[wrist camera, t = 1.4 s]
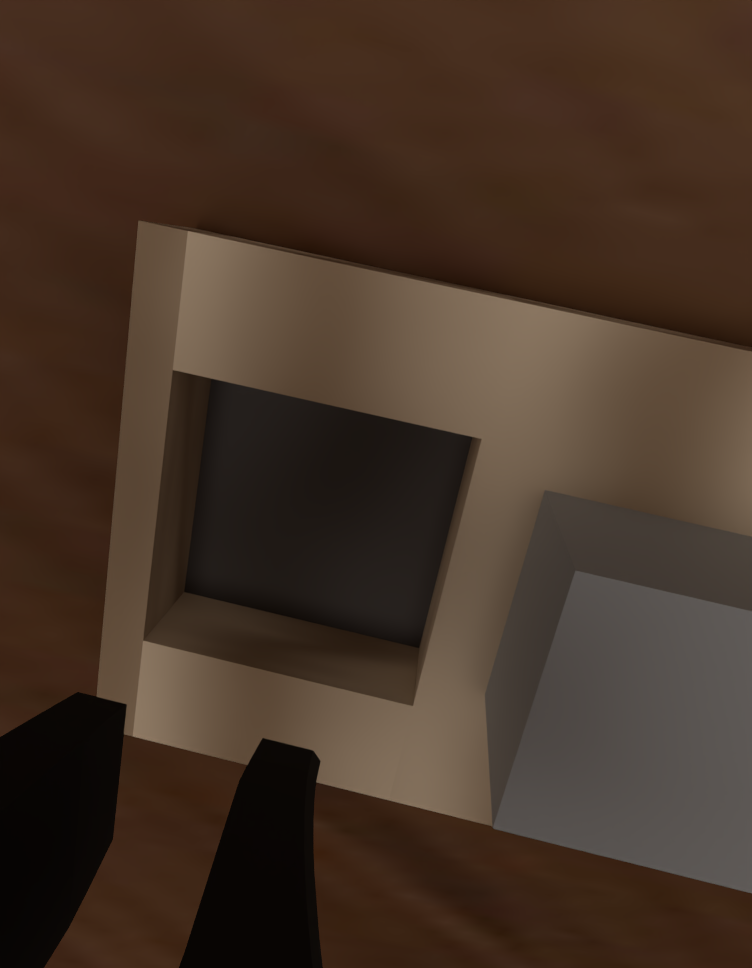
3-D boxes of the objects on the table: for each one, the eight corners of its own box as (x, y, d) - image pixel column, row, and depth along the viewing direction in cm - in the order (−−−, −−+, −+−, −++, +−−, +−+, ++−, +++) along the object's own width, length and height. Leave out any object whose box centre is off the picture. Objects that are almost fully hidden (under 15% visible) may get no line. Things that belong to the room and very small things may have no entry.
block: (789, 545, 14) (911, 647, 10) (704, 747, 16) (782, 900, 12) (544, 490, 14) (575, 570, 11) (485, 694, 16) (492, 828, 12)
